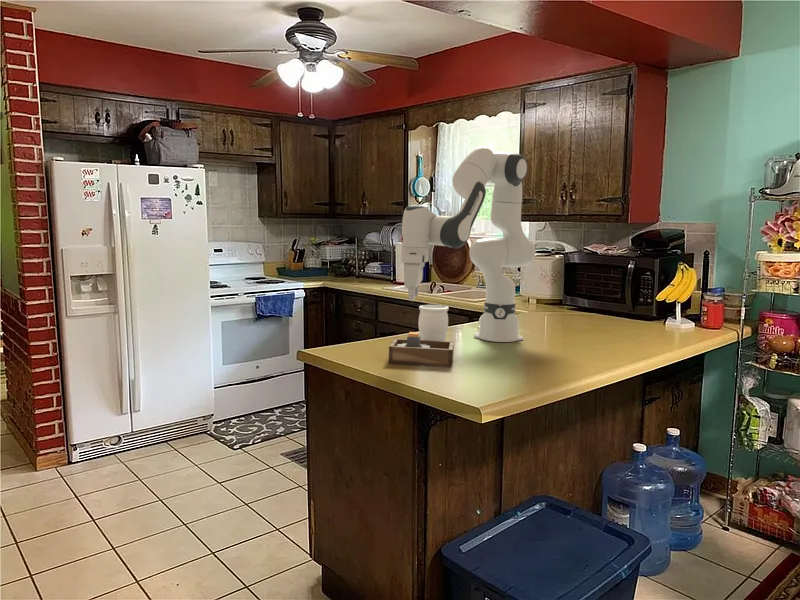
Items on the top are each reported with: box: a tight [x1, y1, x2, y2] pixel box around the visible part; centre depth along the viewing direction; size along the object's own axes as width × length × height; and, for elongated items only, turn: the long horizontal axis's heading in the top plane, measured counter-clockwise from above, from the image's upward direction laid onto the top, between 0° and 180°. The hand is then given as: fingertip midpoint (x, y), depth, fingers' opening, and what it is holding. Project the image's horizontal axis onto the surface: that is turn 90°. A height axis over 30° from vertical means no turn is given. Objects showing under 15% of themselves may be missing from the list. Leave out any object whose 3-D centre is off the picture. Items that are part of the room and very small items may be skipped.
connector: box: [406, 331, 421, 348], centre depth 198 cm, size 4×4×8 cm
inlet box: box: [388, 338, 455, 368], centre depth 198 cm, size 13×20×6 cm, turn 83°
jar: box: [417, 304, 449, 341], centre depth 216 cm, size 11×10×15 cm
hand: (413, 298), depth 196 cm, fingers open, 8 cm apart
